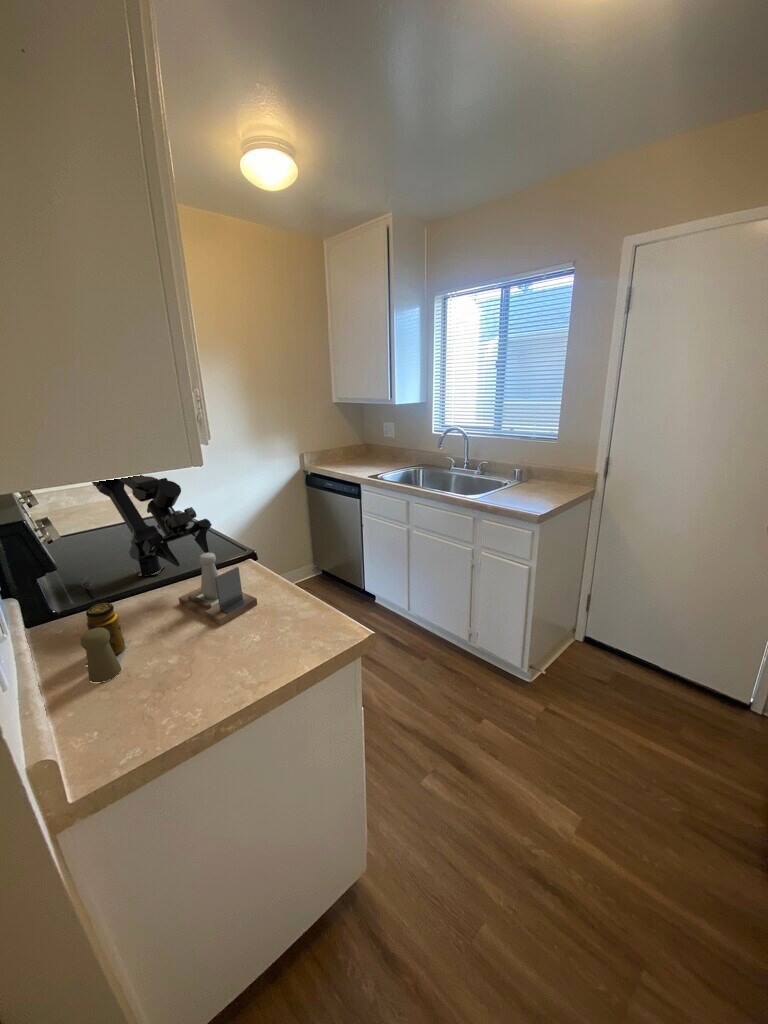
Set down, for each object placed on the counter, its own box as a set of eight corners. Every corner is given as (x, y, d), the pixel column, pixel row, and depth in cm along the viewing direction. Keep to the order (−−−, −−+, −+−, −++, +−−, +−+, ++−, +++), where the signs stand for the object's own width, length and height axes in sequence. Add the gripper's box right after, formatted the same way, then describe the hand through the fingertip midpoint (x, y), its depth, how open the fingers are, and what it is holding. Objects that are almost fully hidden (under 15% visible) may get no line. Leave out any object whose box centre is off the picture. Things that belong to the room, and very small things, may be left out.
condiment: (131, 640, 102) (121, 598, 98) (120, 663, 94) (108, 618, 90) (98, 645, 100) (86, 602, 96) (84, 668, 92) (70, 623, 88)
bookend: (220, 610, 110) (214, 577, 107) (241, 598, 116) (237, 567, 113) (228, 614, 109) (222, 580, 105) (249, 602, 114) (245, 570, 111)
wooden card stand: (179, 603, 117) (177, 593, 116) (216, 586, 127) (214, 576, 126) (220, 625, 107) (219, 614, 106) (257, 604, 117) (256, 594, 116)
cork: (86, 673, 91) (73, 631, 87) (117, 660, 95) (106, 620, 91) (92, 688, 87) (79, 644, 83) (124, 673, 91) (113, 631, 87)
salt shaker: (222, 600, 115) (215, 558, 111) (200, 602, 114) (193, 560, 110) (225, 589, 121) (219, 549, 116) (204, 591, 120) (197, 551, 115)
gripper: (139, 510, 108) (170, 558, 106) (203, 492, 122) (231, 535, 120) (130, 531, 115) (159, 577, 113) (192, 512, 129) (218, 553, 127)
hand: (193, 559), depth 118 cm, fingers open, 9 cm apart
